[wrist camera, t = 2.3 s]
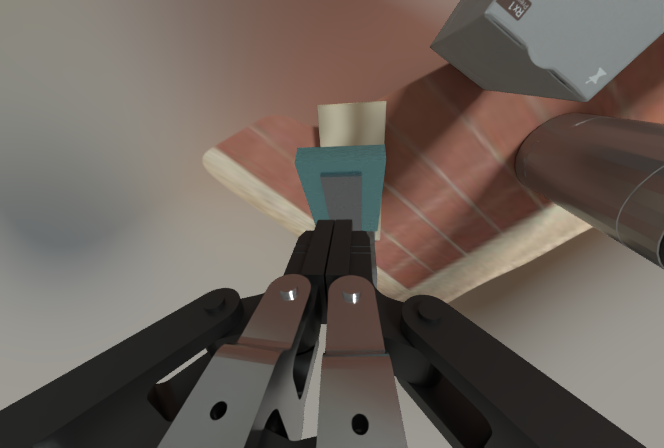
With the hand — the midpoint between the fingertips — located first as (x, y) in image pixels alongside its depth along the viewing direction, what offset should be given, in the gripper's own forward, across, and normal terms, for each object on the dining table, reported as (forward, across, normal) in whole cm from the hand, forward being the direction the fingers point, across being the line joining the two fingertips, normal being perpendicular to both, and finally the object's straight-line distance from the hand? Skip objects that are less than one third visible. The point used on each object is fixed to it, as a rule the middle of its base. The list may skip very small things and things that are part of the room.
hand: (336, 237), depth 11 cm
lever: (+15, 0, +6) cm, 16 cm away
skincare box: (+24, -13, -9) cm, 28 cm away
